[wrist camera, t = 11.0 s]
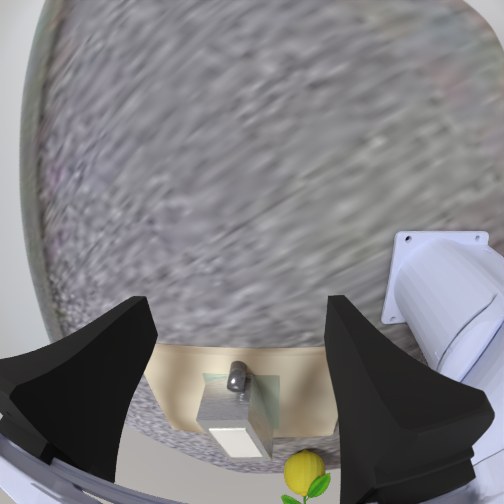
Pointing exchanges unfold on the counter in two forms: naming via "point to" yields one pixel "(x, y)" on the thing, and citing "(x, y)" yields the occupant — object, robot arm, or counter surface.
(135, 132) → the counter surface
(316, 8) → the counter surface
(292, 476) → the lemon
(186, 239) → the counter surface
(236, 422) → the block
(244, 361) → the pin tray
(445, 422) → the robot arm
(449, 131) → the counter surface
